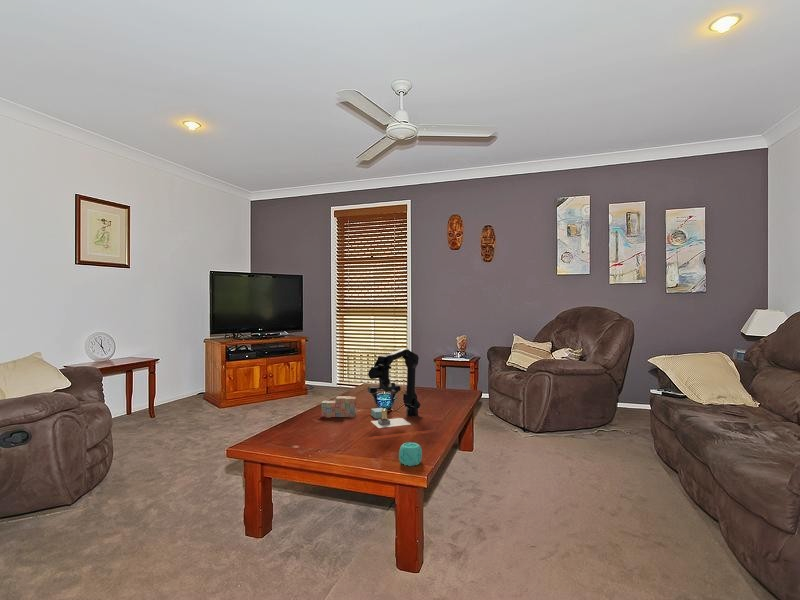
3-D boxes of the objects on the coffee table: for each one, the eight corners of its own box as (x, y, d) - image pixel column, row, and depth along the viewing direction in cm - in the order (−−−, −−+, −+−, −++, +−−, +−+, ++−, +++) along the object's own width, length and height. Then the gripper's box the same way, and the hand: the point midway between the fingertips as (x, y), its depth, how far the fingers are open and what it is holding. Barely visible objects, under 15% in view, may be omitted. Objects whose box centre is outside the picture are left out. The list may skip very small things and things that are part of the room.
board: (401, 420, 266) (401, 414, 266) (411, 426, 252) (411, 420, 252) (370, 423, 259) (370, 417, 259) (378, 430, 245) (378, 424, 245)
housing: (382, 416, 275) (382, 407, 275) (386, 420, 267) (386, 411, 267) (371, 417, 272) (371, 408, 272) (375, 421, 264) (375, 412, 264)
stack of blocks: (321, 417, 273) (321, 397, 273) (323, 414, 279) (323, 395, 279) (354, 418, 271) (354, 398, 271) (356, 415, 278) (356, 396, 278)
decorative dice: (415, 467, 191) (415, 449, 191) (398, 464, 194) (398, 446, 194) (422, 461, 198) (422, 443, 198) (406, 458, 201) (406, 441, 201)
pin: (385, 422, 256) (385, 408, 256) (387, 423, 253) (387, 410, 253) (380, 422, 255) (380, 409, 255) (382, 424, 252) (382, 410, 252)
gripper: (373, 380, 243) (373, 408, 243) (404, 378, 250) (404, 405, 250) (367, 377, 253) (367, 403, 253) (397, 375, 260) (397, 401, 260)
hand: (384, 403), depth 254 cm, fingers open, 9 cm apart
